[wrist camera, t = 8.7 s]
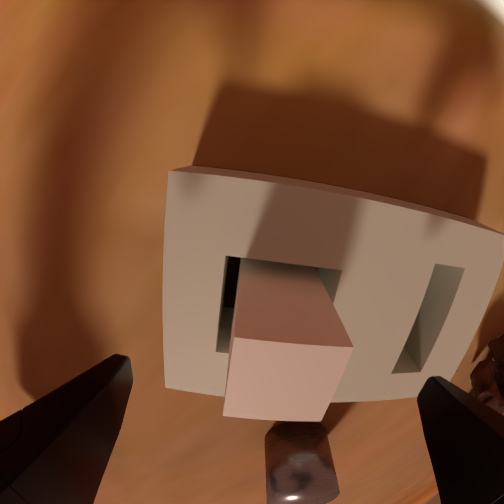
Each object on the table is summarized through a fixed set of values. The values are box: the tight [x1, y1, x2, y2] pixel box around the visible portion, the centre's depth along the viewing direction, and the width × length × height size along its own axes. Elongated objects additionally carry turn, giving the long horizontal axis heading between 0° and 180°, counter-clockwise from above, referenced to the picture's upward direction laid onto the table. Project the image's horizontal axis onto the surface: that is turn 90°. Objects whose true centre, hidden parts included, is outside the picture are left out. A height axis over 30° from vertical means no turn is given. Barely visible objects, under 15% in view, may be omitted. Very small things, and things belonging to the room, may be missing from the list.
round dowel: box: [265, 421, 340, 504], centre depth 17 cm, size 5×5×6 cm
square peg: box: [223, 258, 354, 421], centre depth 12 cm, size 3×3×8 cm
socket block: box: [163, 166, 504, 402], centre depth 14 cm, size 16×10×4 cm, turn 82°
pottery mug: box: [470, 335, 504, 416], centre depth 16 cm, size 12×10×8 cm
